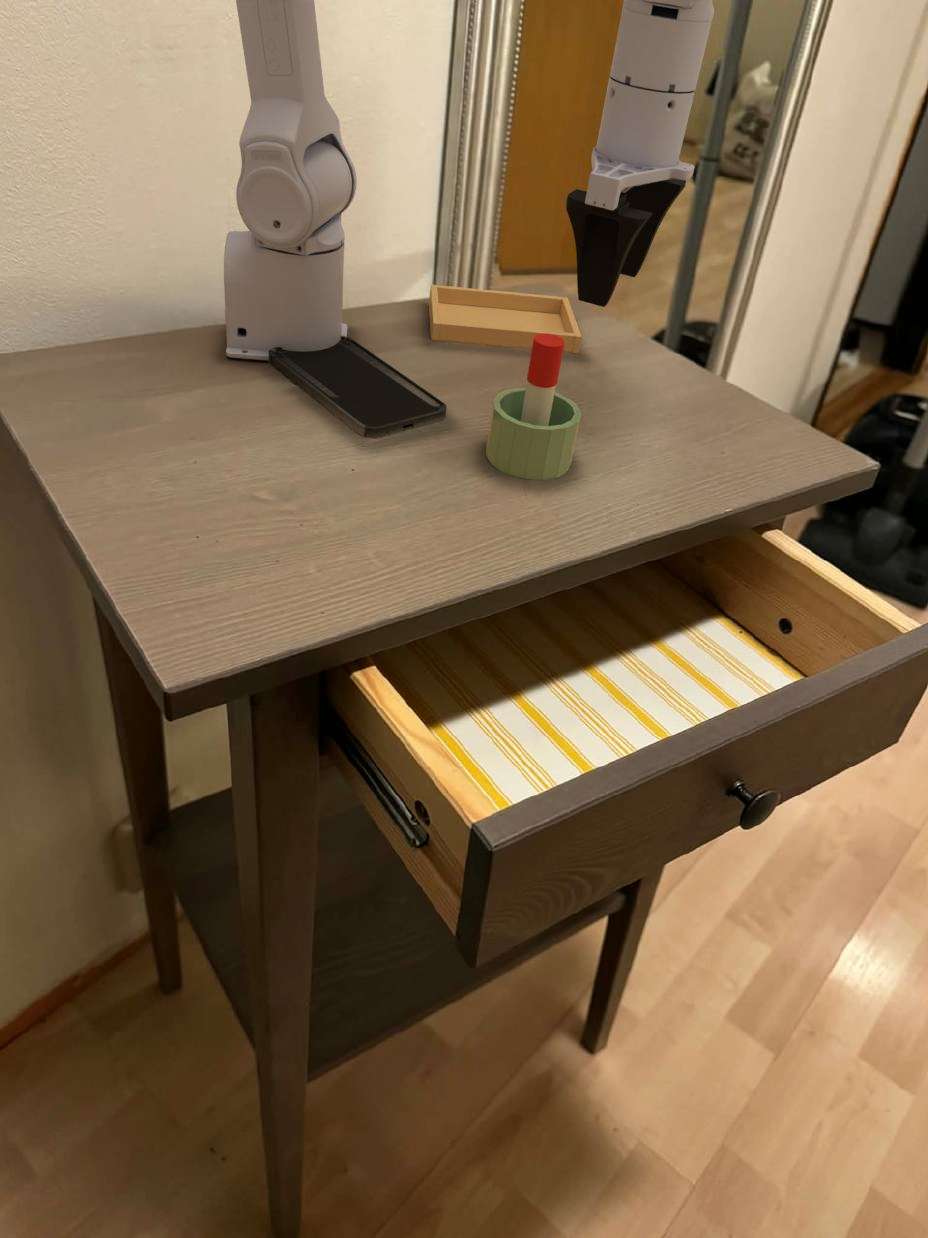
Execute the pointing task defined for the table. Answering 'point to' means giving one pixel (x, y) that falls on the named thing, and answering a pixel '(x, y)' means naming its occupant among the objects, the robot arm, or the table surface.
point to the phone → (359, 388)
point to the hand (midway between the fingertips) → (608, 287)
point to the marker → (542, 378)
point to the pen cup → (531, 437)
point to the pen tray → (500, 317)
